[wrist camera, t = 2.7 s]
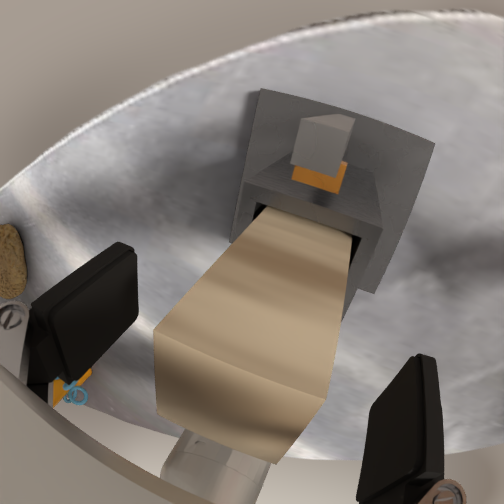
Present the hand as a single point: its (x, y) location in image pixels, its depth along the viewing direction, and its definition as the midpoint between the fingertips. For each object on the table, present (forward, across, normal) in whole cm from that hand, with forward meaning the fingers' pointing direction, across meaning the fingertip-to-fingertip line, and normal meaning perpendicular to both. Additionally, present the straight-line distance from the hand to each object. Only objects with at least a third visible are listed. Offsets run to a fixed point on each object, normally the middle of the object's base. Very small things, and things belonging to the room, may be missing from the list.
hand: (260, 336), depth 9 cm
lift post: (+17, 0, +1) cm, 17 cm away
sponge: (+19, +51, +28) cm, 61 cm away
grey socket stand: (+19, 0, +1) cm, 19 cm away
